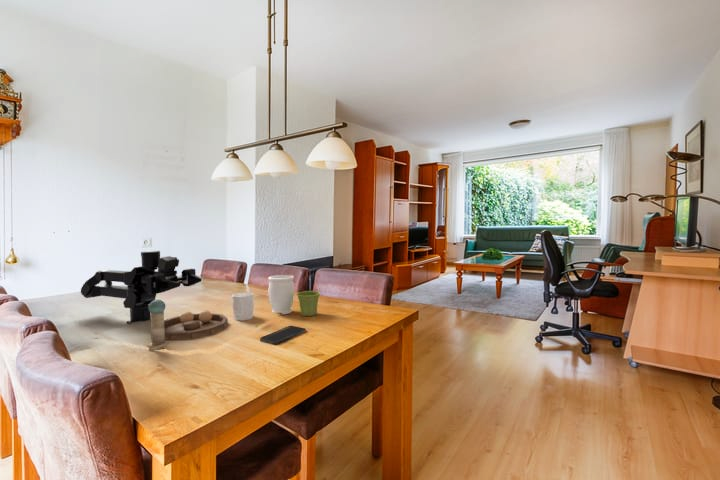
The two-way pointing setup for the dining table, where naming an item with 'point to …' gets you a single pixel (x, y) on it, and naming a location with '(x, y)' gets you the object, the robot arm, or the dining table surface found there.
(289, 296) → the jar
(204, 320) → the loose bead
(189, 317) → the loose bead
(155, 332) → the bead post
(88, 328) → the dining table surface
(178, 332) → the walnut tray
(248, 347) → the dining table surface
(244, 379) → the dining table surface
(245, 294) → the white cup
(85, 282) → the robot arm
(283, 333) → the phone
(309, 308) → the plant pot
